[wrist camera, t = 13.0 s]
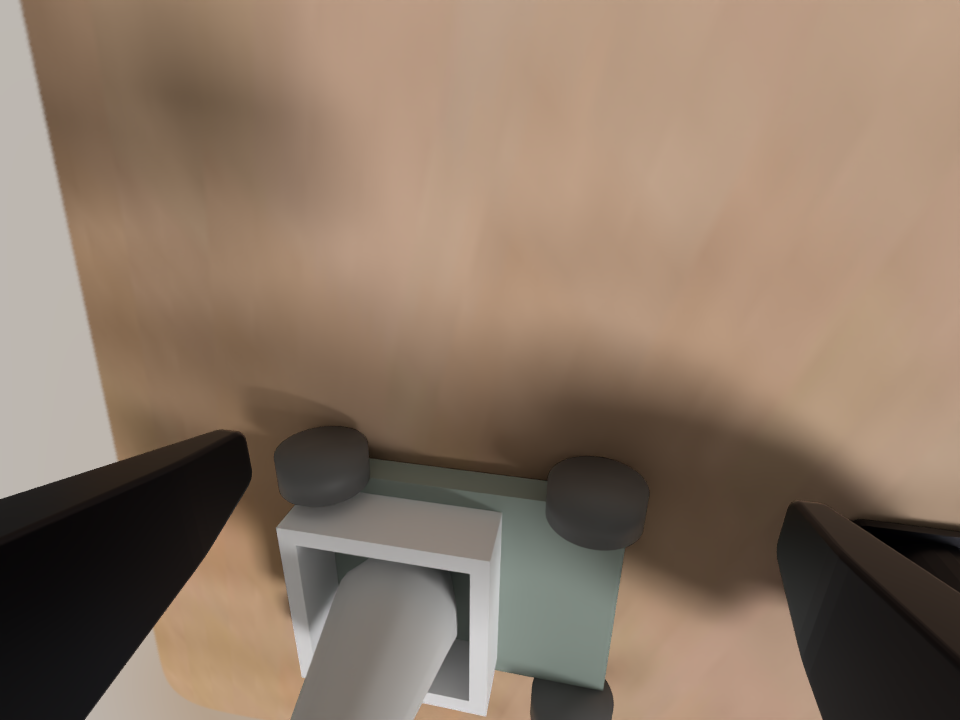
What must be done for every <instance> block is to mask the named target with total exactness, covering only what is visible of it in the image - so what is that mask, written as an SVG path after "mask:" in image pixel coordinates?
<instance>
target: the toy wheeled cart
mask: <svg viewBox="0 0 960 720" xmlns="http://www.w3.org/2000/svg"><path fill="white" fill-rule="evenodd" d="M274 462H275V468H276V474H277V480H278V486H279V491H280V494H281V495H282V497H283V498H284V499H285V500H287V501H288V502H290V503H292V504H295V505H294V507H293V508H292V509H291V510H290V511H289V513H288V514H287V515H286V516H285V517H284V519H283V520H282V521H281V522H280V523H279V525H278V526H277V527H276V531H277V536H278V542H279V548H280V554H281V559H282V565H283V571H284V577H285V582H286V588H287V594H288V600H289V605H290V611H291V617H292V623H293V628H294V634H295V640H296V646H297V651H298V657H299V663H300V669H301V675H302V677H303V678H305V677H306V675H307V672H308V669H309V666H310V663H311V661H312V658H313V655H314V652H315V649H316V647H317V644H318V641H319V638H320V635H321V633H322V630H323V627H324V624H325V621H326V619H327V616H328V613H329V610H330V607H331V605H332V602H333V599H334V597H335V594H336V592H337V589H338V587H339V584H340V582H341V580H342V579H343V577H344V576H345V575H346V574H347V572H349V571H350V570H352V569H353V568H355V567H356V566H358V565H360V564H361V563H363V562H364V561H366V560H367V559H369V558H375V559H382V560H388V561H394V562H400V563H406V564H412V565H418V566H424V567H430V568H436V569H442V570H448V571H449V572H450V574H451V579H452V584H453V589H454V595H455V600H456V607H457V621H458V628H457V636H456V638H455V640H454V642H453V644H452V646H451V648H450V650H449V651H448V653H447V655H446V657H445V659H444V661H443V663H442V665H441V667H440V669H439V671H438V673H437V675H436V677H435V678H434V680H433V682H432V684H431V686H430V688H429V690H428V692H427V694H426V696H425V698H424V700H423V702H422V703H425V704H430V705H435V706H439V707H444V708H449V709H453V710H458V711H463V712H467V713H472V714H477V715H482V716H486V714H487V709H488V703H489V698H490V693H491V687H492V682H493V677H494V671H495V670H498V671H503V672H508V673H514V674H519V675H524V676H529V677H534V680H533V684H532V694H531V708H530V715H531V720H611V719H612V714H613V706H614V702H613V695H612V692H611V689H610V687H609V685H608V683H607V681H606V680H605V675H606V668H607V662H608V655H609V649H610V642H611V636H612V629H613V623H614V616H615V610H616V603H617V597H618V590H619V584H620V577H621V571H622V564H623V558H624V551H625V547H627V546H630V545H632V544H633V543H635V542H636V541H637V540H638V539H639V538H640V536H641V535H642V533H643V529H644V523H645V517H646V511H647V505H648V500H649V488H648V485H647V483H646V481H645V480H644V479H643V477H642V476H641V475H640V474H638V473H637V472H636V471H635V470H633V469H632V468H630V467H628V466H627V465H624V464H622V463H620V462H617V461H614V460H611V459H607V458H602V457H594V456H580V457H573V458H569V459H566V460H563V461H561V462H559V463H558V464H556V465H555V466H554V467H553V468H552V469H551V470H550V472H549V475H548V481H543V480H535V479H527V478H520V477H512V476H504V475H496V474H488V473H481V472H473V471H465V470H457V469H449V468H442V467H434V466H426V465H418V464H410V463H403V462H395V461H387V460H379V459H371V458H369V452H368V442H367V439H366V437H365V436H364V435H363V434H362V433H360V432H359V431H356V430H354V429H351V428H347V427H341V426H324V427H317V428H312V429H308V430H305V431H302V432H299V433H297V434H294V435H292V436H291V437H289V438H287V439H286V440H284V441H283V442H282V443H281V444H280V445H279V446H278V447H277V449H276V451H275V453H274Z"/></svg>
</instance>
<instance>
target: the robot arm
mask: <svg viewBox="0 0 960 720" xmlns="http://www.w3.org/2000/svg"><path fill="white" fill-rule="evenodd" d="M251 477H252V468H251V463H250V458H249V452H248V447H247V442H246V438H245V436H244V435H243V434H242V433H241V432H238V431H230V430H216V431H213V432H210V433H206V434H203V435H200V436H197V437H194V438H191V439H188V440H184V441H181V442H178V443H175V444H172V445H169V446H166V447H163V448H159V449H156V450H153V451H150V452H147V453H144V454H141V455H137V456H134V457H131V458H128V459H125V460H122V461H119V462H115V463H112V464H109V465H106V466H103V467H100V468H97V469H94V470H90V471H87V472H84V473H81V474H78V475H75V476H72V477H68V478H66V479H62V480H59V481H56V482H53V483H50V484H47V485H44V486H40V487H37V488H34V489H31V490H28V491H25V492H21V493H18V494H15V495H12V496H9V497H6V498H3V499H0V720H85V719H86V717H87V716H88V715H89V713H90V712H91V711H92V709H93V708H94V706H95V705H96V704H97V702H98V701H99V700H100V698H101V697H102V696H103V694H104V693H105V692H106V690H107V689H108V688H109V686H110V684H112V682H113V681H114V679H115V678H116V677H117V675H118V674H119V673H120V671H121V670H122V669H123V667H124V666H125V665H126V663H127V662H128V661H129V659H130V658H131V657H132V655H133V654H134V653H135V651H136V650H137V648H138V647H139V646H140V644H141V643H142V642H143V640H144V639H145V638H146V636H147V635H148V634H149V632H150V631H151V630H152V628H153V627H154V626H155V624H156V623H157V622H158V620H159V619H160V618H161V616H162V615H163V613H164V612H165V611H166V609H167V608H168V607H169V605H170V604H171V603H172V601H173V600H174V599H175V597H176V596H177V595H178V593H179V592H180V591H181V589H182V588H183V587H184V585H185V584H186V582H187V581H188V580H189V578H190V577H191V576H192V574H193V573H194V572H195V570H196V569H197V568H198V566H199V565H200V563H201V562H202V560H203V559H204V558H205V556H206V555H207V553H208V551H209V550H210V548H211V547H212V545H213V544H214V542H215V540H216V539H217V537H218V535H219V534H220V532H221V530H222V529H223V527H224V525H225V524H226V522H227V520H228V519H229V517H230V515H231V514H232V512H233V510H234V509H235V507H236V506H237V504H238V502H239V501H240V499H241V497H242V496H243V494H244V492H245V491H246V489H247V487H248V486H249V483H250V481H251ZM777 560H778V564H779V568H780V573H781V577H782V581H783V585H784V589H785V594H786V598H787V602H788V606H789V610H790V615H791V619H792V623H793V627H794V631H795V636H796V640H797V644H798V648H799V651H800V655H801V659H802V662H803V665H804V668H805V671H806V674H807V677H808V680H809V683H810V685H811V688H812V691H813V694H814V697H815V699H816V702H817V705H818V708H819V711H820V713H821V716H822V719H823V720H960V532H958V531H950V530H943V529H935V528H927V527H919V526H911V525H903V524H896V523H888V522H880V521H872V520H864V519H857V520H854V521H852V522H851V521H850V520H848V519H847V518H845V517H844V516H842V515H841V514H839V513H838V512H836V511H835V510H833V509H832V508H830V507H829V506H827V505H825V504H823V503H818V502H809V501H801V500H795V501H793V502H791V504H790V505H789V507H788V509H787V513H786V516H785V519H784V523H783V526H782V529H781V533H780V536H779V540H778V543H777Z"/></svg>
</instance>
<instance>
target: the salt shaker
mask: <svg viewBox="0 0 960 720" xmlns="http://www.w3.org/2000/svg"><path fill="white" fill-rule="evenodd" d="M457 628H458V621H457V607H456V600H455V595H454V589H453V584H452V579H451V574H450V572H449V571H448V570H442V569H436V568H430V567H424V566H418V565H412V564H406V563H400V562H394V561H388V560H382V559H375V558H369V559H367V560H366V561H364V562H363V563H361V564H360V565H358V566H356V567H355V568H353V569H352V570H350V571H349V572H347V574H346V575H345V576H344V577H343V579H342V580H341V582H340V584H339V587H338V589H337V592H336V594H335V597H334V599H333V602H332V605H331V607H330V610H329V613H328V616H327V619H326V621H325V624H324V627H323V630H322V633H321V635H320V638H319V641H318V644H317V647H316V649H315V652H314V655H313V658H312V661H311V663H310V666H309V669H308V672H307V675H306V677H305V680H304V683H303V686H302V689H301V691H300V694H299V697H298V700H297V703H296V705H295V708H294V711H293V714H292V717H291V719H290V720H414V718H415V716H416V714H417V712H418V710H419V708H420V706H421V704H422V702H423V700H424V698H425V696H426V694H427V692H428V690H429V688H430V686H431V684H432V682H433V680H434V678H435V677H436V675H437V673H438V671H439V669H440V667H441V665H442V663H443V661H444V659H445V657H446V655H447V653H448V651H449V650H450V648H451V646H452V644H453V642H454V640H455V638H456V636H457Z"/></svg>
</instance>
